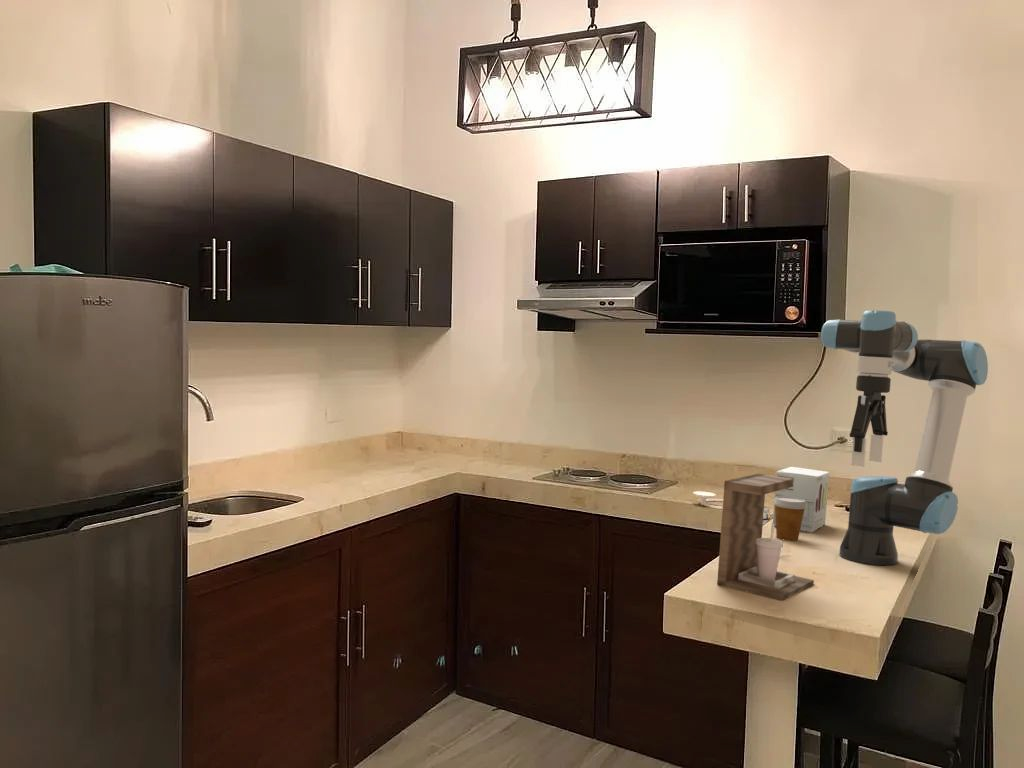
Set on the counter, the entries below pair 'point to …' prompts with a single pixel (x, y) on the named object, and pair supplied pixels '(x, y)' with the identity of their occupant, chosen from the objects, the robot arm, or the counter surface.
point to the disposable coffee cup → (788, 517)
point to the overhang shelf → (750, 538)
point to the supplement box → (807, 494)
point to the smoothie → (768, 555)
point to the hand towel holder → (704, 500)
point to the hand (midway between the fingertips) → (866, 463)
